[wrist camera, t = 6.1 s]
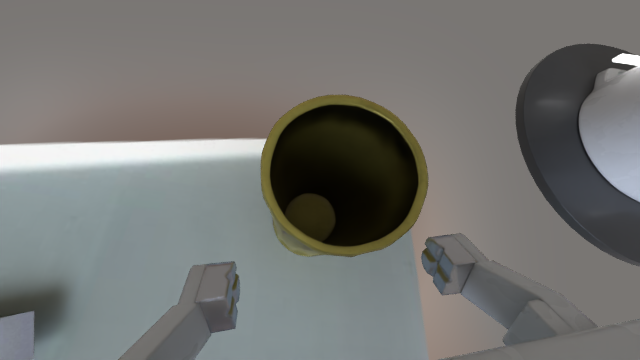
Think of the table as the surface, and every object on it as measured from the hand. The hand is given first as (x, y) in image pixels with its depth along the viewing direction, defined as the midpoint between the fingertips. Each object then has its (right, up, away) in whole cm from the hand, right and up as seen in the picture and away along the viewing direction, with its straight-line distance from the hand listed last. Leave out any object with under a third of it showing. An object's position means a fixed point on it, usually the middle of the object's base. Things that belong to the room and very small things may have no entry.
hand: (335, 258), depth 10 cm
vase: (-2, 0, +11) cm, 11 cm away
